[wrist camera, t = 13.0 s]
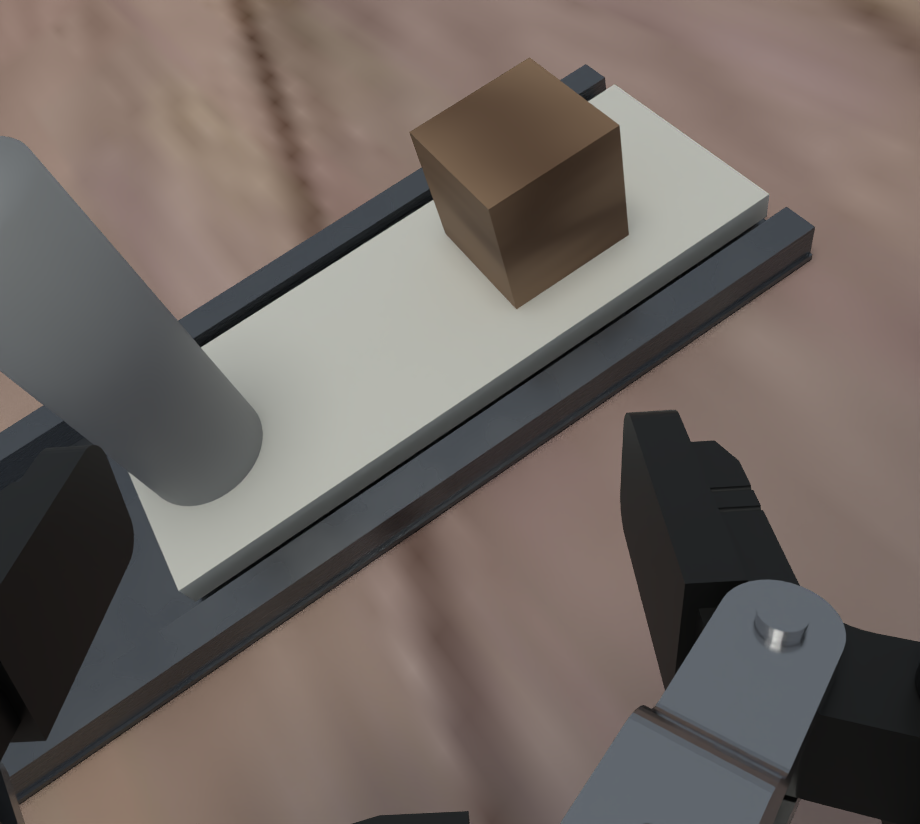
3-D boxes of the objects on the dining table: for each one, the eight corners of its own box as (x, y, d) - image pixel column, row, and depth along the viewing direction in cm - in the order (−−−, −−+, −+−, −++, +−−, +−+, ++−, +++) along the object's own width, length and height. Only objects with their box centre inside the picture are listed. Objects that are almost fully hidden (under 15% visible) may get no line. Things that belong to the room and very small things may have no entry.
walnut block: (549, 166, 29) (529, 57, 25) (628, 235, 27) (619, 125, 23) (445, 233, 29) (409, 132, 25) (516, 309, 26) (488, 209, 22)
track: (587, 93, 33) (584, 63, 32) (811, 258, 26) (817, 228, 25) (-181, 579, 29) (-217, 566, 28) (-142, 914, 23) (-187, 914, 21)
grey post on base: (616, 106, 31) (584, -268, 21) (766, 216, 27) (813, -189, 17) (118, 424, 29) (-179, 170, 19) (195, 601, 25) (-138, 391, 15)
